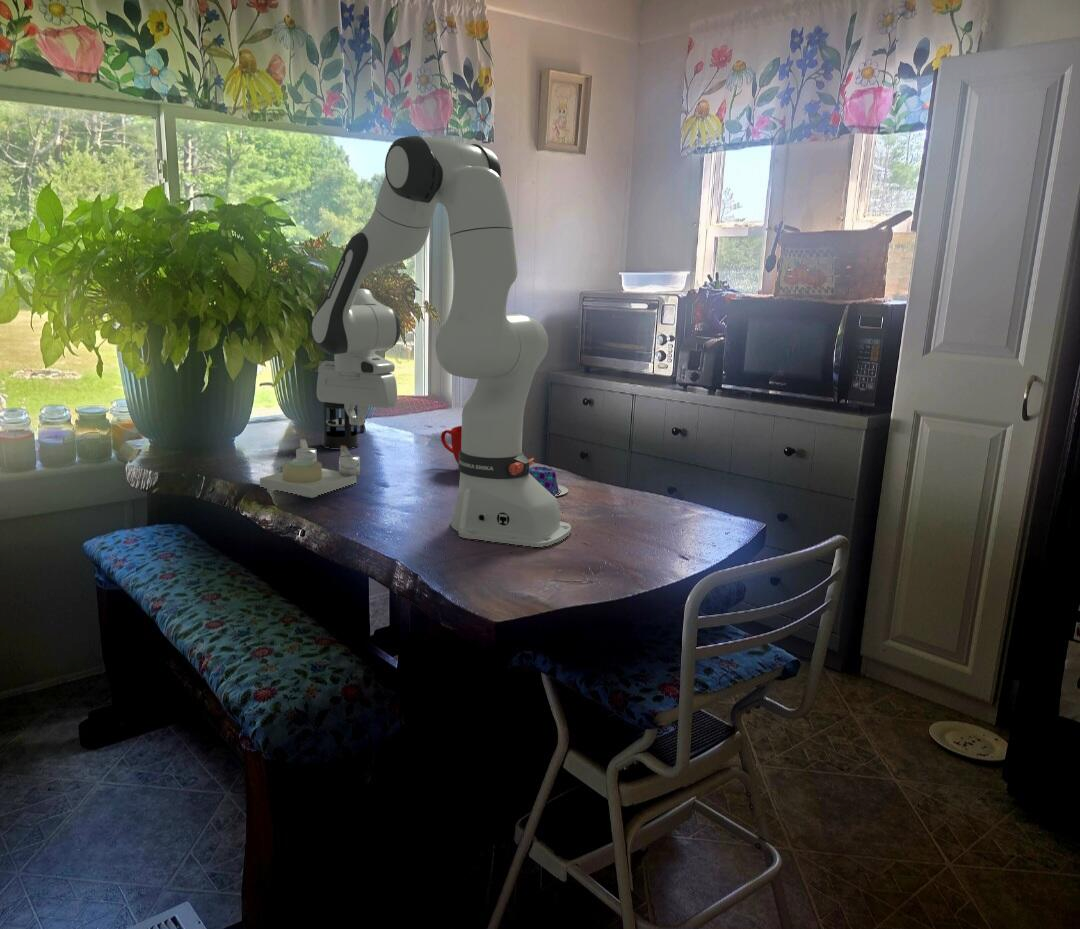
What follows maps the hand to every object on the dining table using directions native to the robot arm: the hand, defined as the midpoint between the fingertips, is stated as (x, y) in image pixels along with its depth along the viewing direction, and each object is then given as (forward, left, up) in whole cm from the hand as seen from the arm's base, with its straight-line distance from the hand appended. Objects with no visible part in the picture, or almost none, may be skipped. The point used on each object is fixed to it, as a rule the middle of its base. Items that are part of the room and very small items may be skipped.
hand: (356, 424), depth 182 cm
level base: (+2, +14, -11) cm, 18 cm away
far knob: (+11, +4, -9) cm, 15 cm away
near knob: (-1, +5, -9) cm, 10 cm away
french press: (+22, -21, -12) cm, 32 cm away
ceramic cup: (-19, -18, -12) cm, 29 cm away
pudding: (-41, -11, -12) cm, 44 cm away
